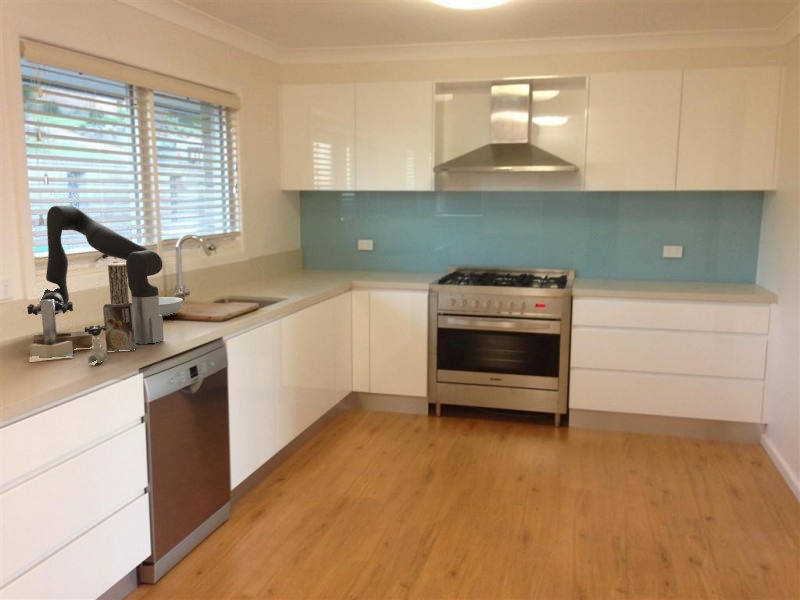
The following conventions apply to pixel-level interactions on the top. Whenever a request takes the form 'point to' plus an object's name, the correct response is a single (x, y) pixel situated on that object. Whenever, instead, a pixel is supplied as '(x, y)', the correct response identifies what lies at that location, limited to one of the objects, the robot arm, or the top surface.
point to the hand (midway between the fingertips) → (49, 311)
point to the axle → (49, 322)
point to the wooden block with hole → (69, 339)
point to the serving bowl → (169, 305)
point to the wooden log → (118, 283)
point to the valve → (96, 344)
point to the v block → (52, 350)
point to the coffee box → (119, 327)
